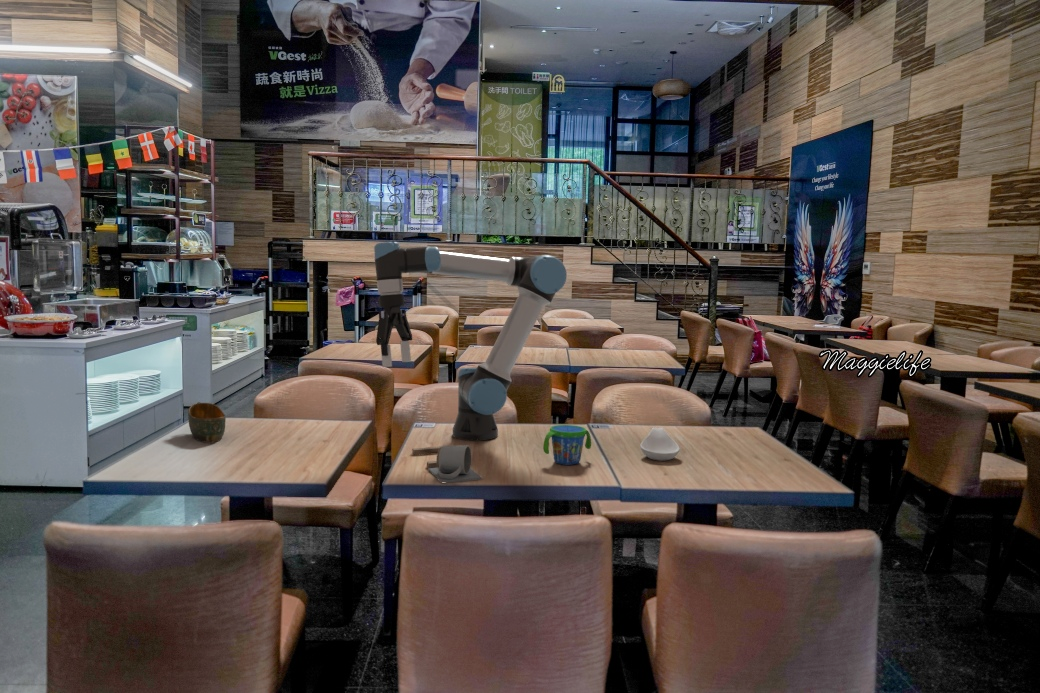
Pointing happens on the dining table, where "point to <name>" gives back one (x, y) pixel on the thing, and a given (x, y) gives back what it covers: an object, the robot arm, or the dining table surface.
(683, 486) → the dining table surface
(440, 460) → the ceramic mug
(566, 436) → the snack cup
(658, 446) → the spoon rest
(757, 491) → the dining table surface
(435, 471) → the slate mat
